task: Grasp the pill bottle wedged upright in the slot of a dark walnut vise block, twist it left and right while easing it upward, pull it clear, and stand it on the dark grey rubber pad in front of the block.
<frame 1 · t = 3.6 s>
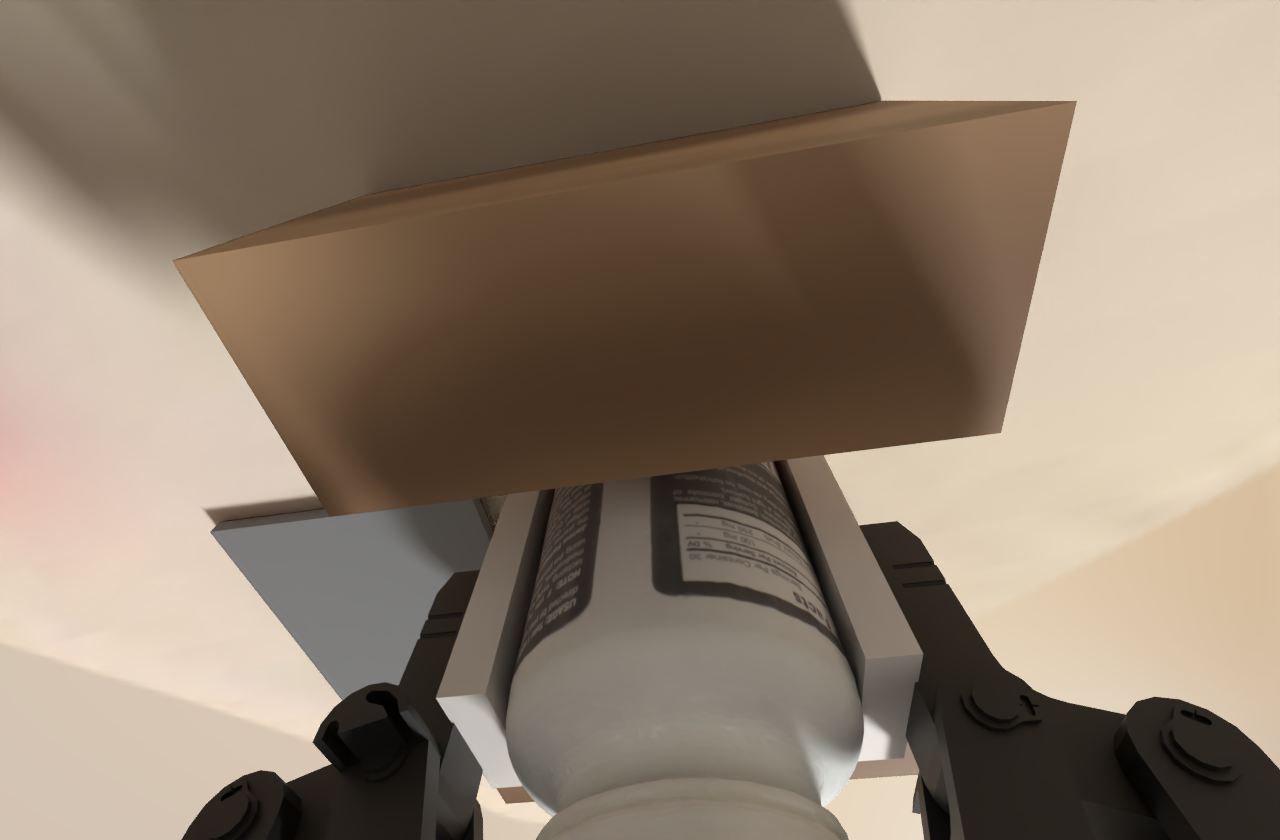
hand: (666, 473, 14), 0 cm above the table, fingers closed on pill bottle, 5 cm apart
vise block: (666, 465, 14), on the table
pill bottle: (666, 460, 14), on the table, touching gripper
pad: (407, 612, 17), on the table
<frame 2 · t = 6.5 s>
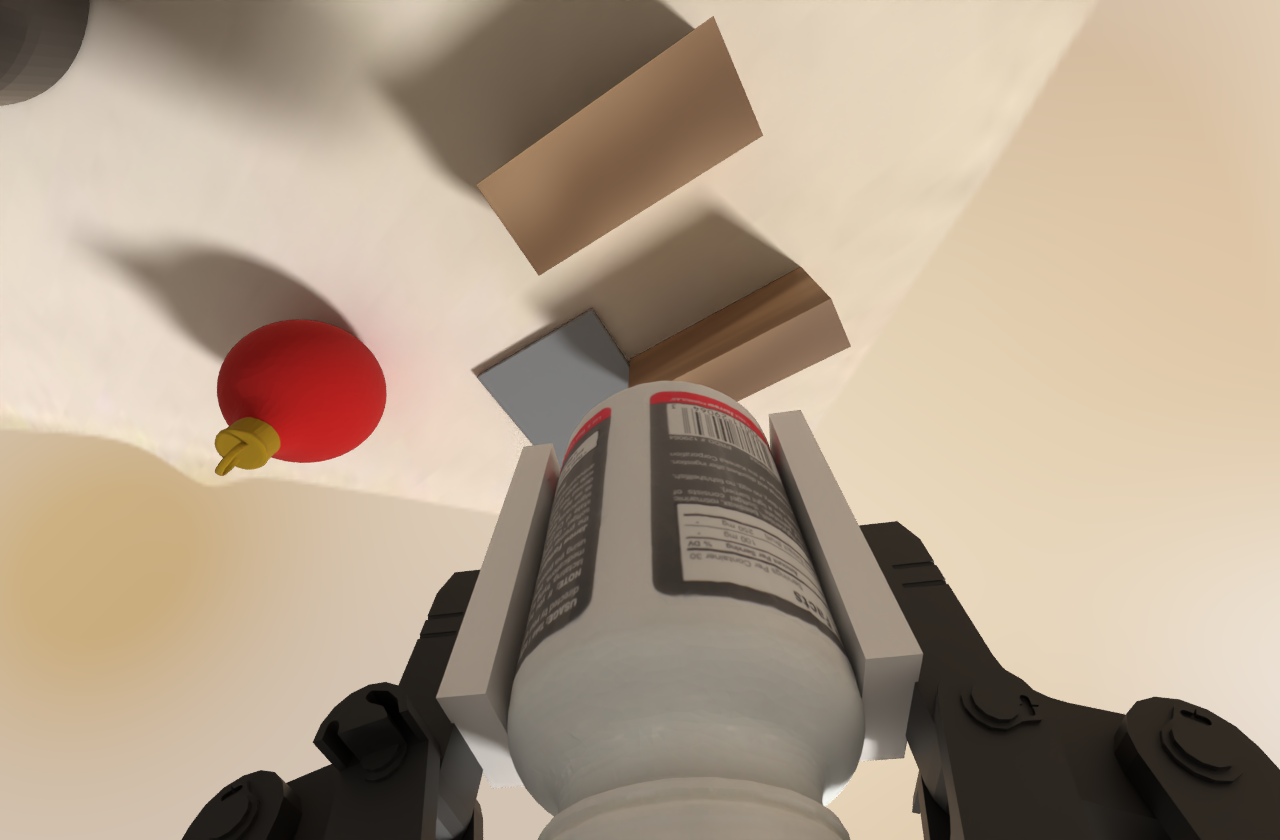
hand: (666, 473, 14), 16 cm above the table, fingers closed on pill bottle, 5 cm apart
christmas ornament: (344, 360, 30), on the table
vise block: (679, 257, 26), on the table
pill bottle: (667, 460, 14), point 15 cm above the table, touching gripper
pad: (580, 404, 31), on the table
when the fingers open (2 cm above the table, at t = 9.4 s): pill bottle drops 2 cm, resting on pad.
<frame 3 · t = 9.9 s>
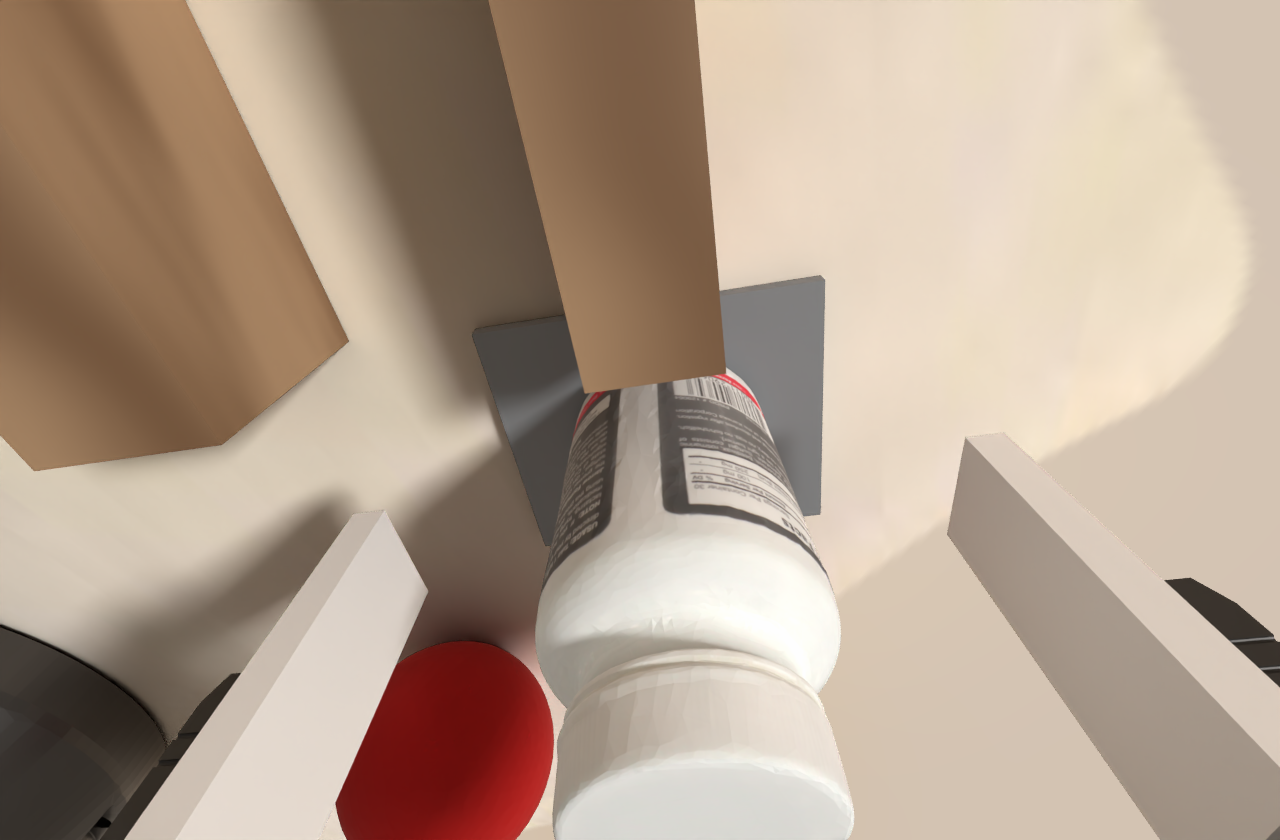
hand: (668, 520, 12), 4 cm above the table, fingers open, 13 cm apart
christmas ornament: (479, 654, 22), on the table
vise block: (398, 103, 11), on the table
pill bottle: (669, 429, 15), resting on pad
pad: (663, 426, 16), on the table
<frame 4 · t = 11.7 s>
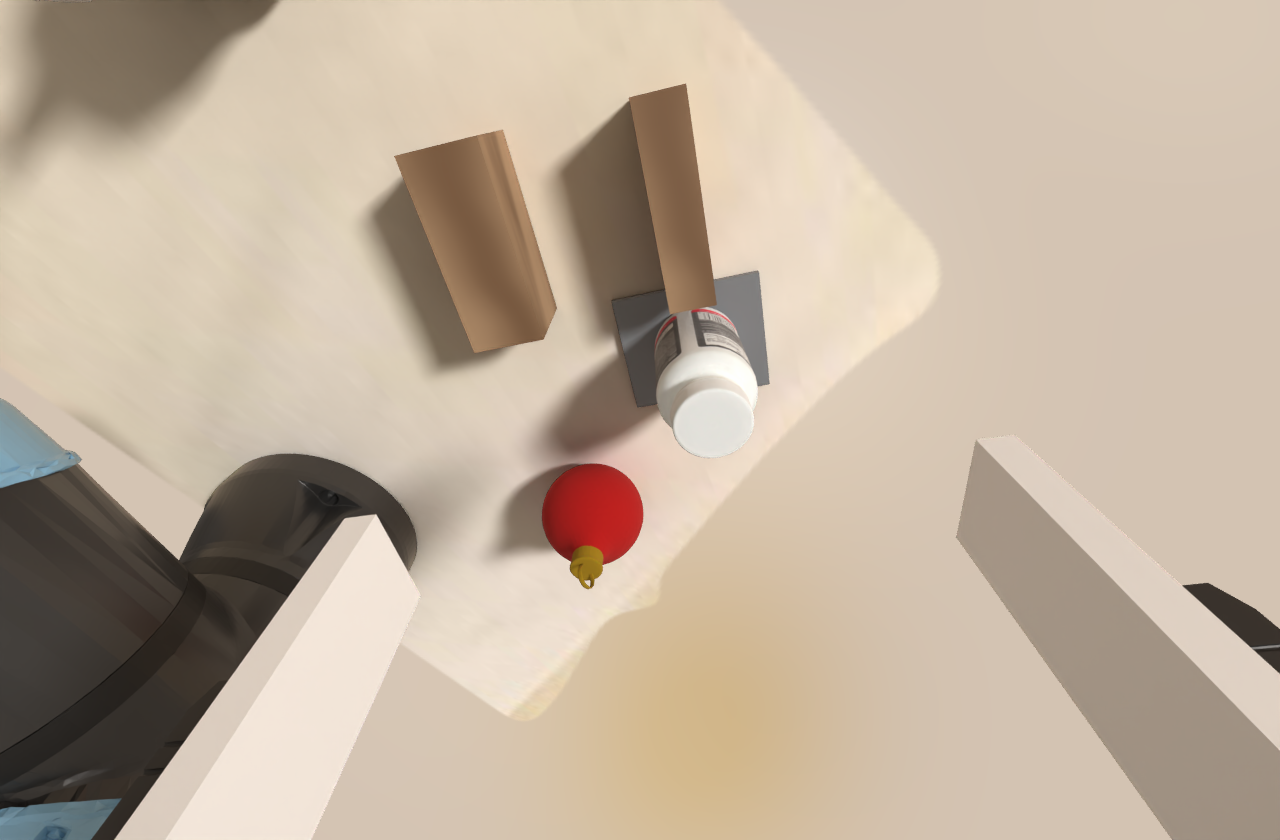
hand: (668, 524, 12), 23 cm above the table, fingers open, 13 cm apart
christmas ornament: (597, 481, 40), on the table
vise block: (590, 213, 30), on the table
pill bottle: (696, 343, 34), resting on pad
pad: (693, 342, 34), on the table
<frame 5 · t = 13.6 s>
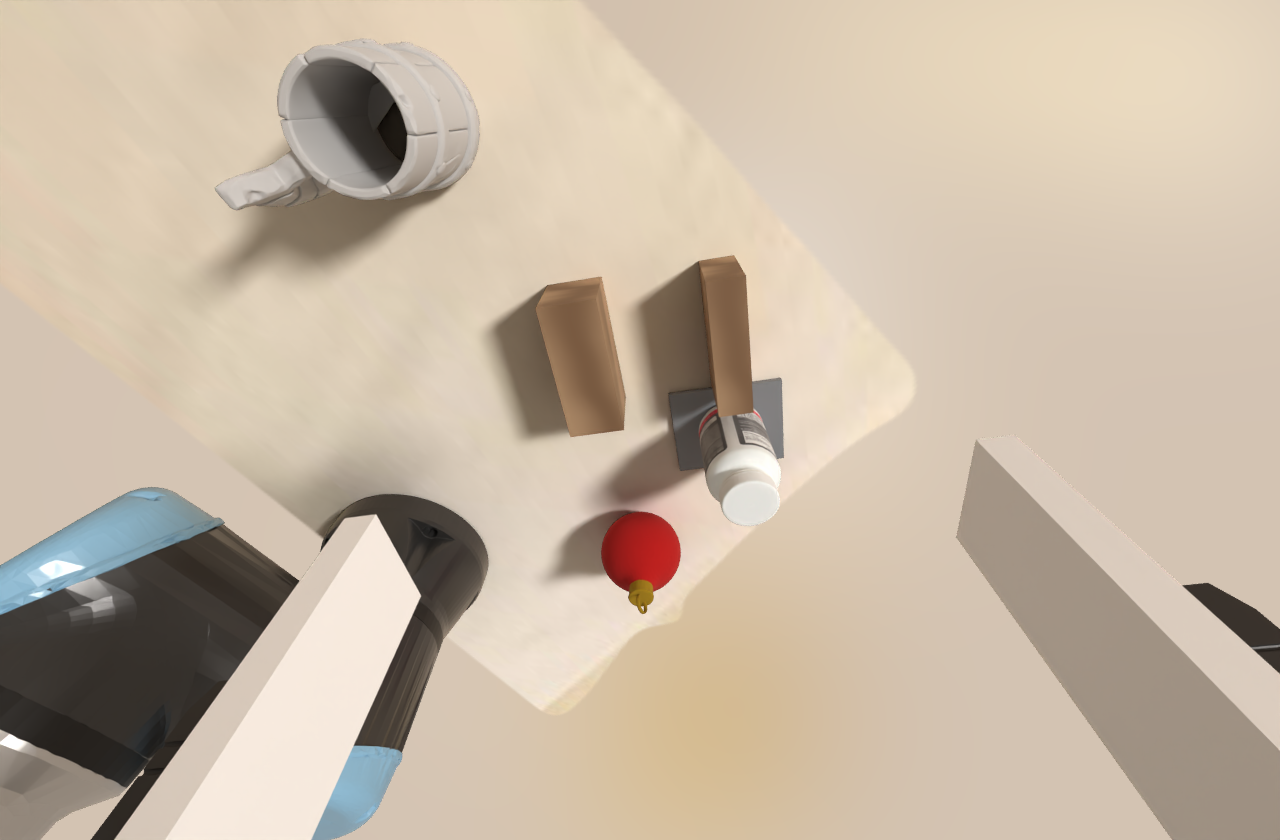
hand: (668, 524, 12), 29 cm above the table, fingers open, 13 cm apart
christmas ornament: (641, 523, 50), on the table
vise block: (659, 334, 40), on the table
mug: (399, 137, 34), on the table
pill bottle: (730, 426, 44), resting on pad
pad: (727, 425, 44), on the table
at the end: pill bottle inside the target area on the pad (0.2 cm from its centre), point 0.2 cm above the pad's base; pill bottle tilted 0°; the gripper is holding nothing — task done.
